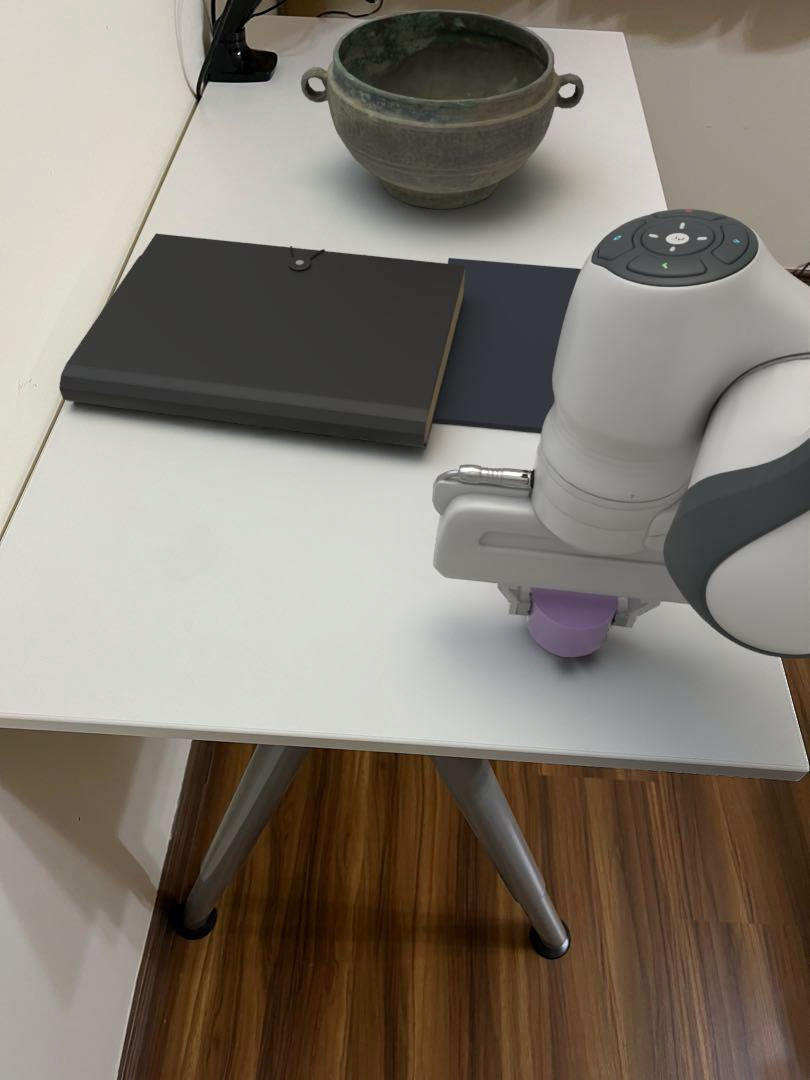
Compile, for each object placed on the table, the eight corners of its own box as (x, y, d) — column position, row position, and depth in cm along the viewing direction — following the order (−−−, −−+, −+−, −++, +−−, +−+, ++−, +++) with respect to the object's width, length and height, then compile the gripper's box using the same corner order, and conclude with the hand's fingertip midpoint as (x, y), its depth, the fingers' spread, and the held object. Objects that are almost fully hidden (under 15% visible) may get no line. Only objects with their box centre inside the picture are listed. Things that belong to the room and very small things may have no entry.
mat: (631, 277, 92) (632, 272, 91) (644, 443, 75) (646, 438, 75) (448, 262, 93) (448, 257, 93) (422, 421, 77) (422, 416, 76)
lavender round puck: (604, 601, 64) (617, 564, 61) (606, 669, 61) (620, 633, 57) (525, 592, 65) (533, 555, 61) (522, 659, 61) (530, 623, 57)
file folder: (466, 261, 85) (424, 424, 70) (464, 295, 88) (423, 459, 73) (155, 229, 89) (53, 377, 74) (164, 263, 92) (68, 412, 77)
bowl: (295, 231, 97) (282, 95, 85) (319, 126, 113) (311, 1, 102) (577, 241, 96) (602, 106, 85) (559, 134, 113) (579, 9, 101)
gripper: (428, 502, 49) (421, 633, 60) (789, 539, 48) (716, 667, 58) (439, 428, 53) (431, 563, 64) (773, 460, 52) (707, 593, 62)
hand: (570, 613), depth 61 cm, fingers closed on lavender round puck, 6 cm apart
